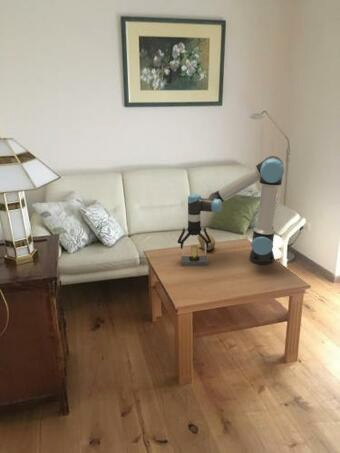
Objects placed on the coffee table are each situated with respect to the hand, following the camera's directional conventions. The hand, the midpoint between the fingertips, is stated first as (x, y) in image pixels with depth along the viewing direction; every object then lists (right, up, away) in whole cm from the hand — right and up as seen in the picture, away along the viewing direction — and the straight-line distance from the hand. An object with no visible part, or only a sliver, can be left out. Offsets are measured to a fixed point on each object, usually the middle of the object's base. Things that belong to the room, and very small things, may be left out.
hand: (194, 253), depth 222 cm
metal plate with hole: (0, -6, +2) cm, 6 cm away
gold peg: (0, -6, +2) cm, 6 cm away
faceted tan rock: (+10, +1, +21) cm, 24 cm away
